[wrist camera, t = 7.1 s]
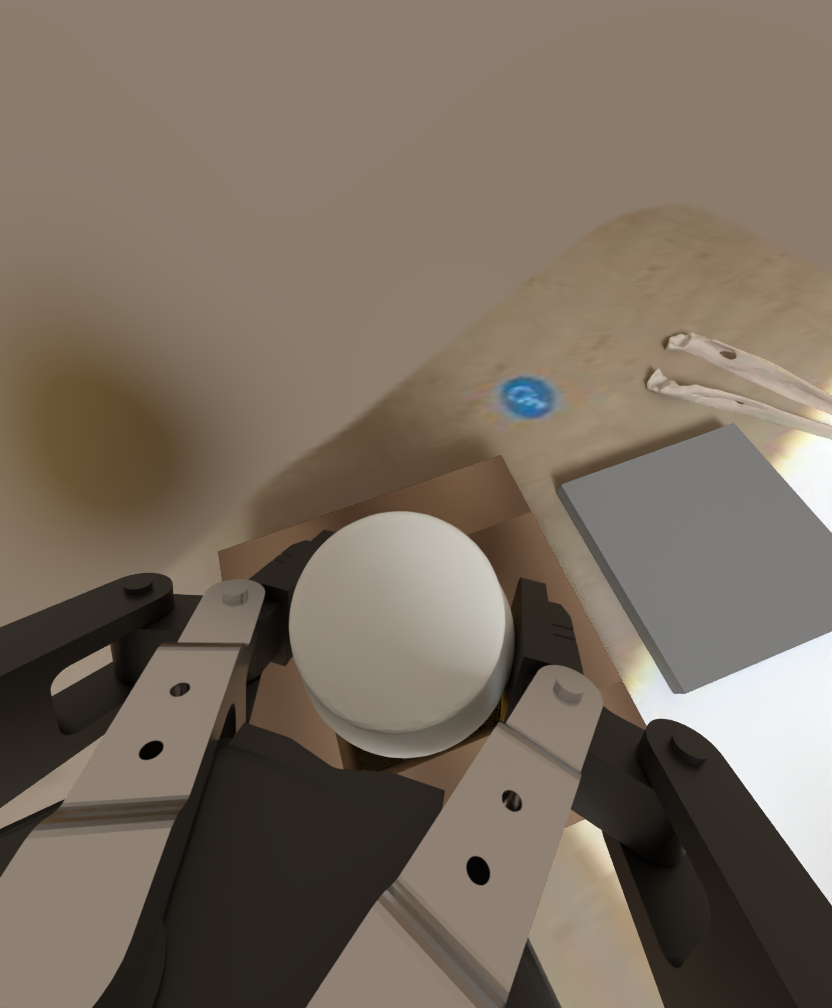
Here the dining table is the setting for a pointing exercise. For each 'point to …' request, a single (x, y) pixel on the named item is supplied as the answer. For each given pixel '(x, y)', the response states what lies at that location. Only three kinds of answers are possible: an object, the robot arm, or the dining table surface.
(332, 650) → the supplement bottle
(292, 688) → the brown square frame
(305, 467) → the dining table surface
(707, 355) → the animal jaw bone
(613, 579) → the coaster pad
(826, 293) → the dining table surface
